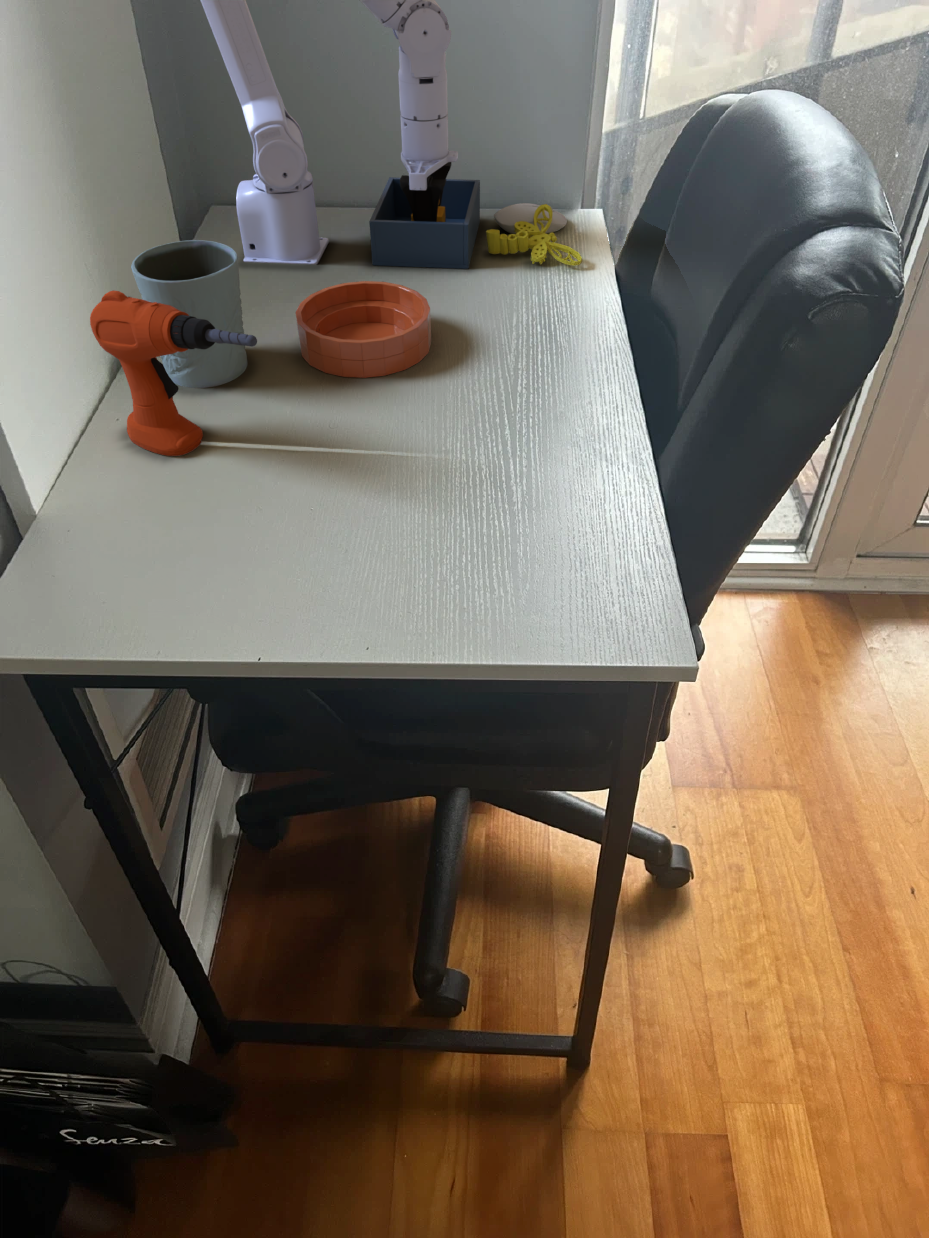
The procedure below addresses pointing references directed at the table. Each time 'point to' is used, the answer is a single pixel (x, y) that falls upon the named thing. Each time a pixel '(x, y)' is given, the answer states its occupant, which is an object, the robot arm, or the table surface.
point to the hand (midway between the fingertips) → (428, 228)
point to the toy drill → (155, 364)
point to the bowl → (364, 329)
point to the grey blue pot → (197, 304)
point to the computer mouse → (527, 217)
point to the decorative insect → (532, 240)
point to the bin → (426, 228)
